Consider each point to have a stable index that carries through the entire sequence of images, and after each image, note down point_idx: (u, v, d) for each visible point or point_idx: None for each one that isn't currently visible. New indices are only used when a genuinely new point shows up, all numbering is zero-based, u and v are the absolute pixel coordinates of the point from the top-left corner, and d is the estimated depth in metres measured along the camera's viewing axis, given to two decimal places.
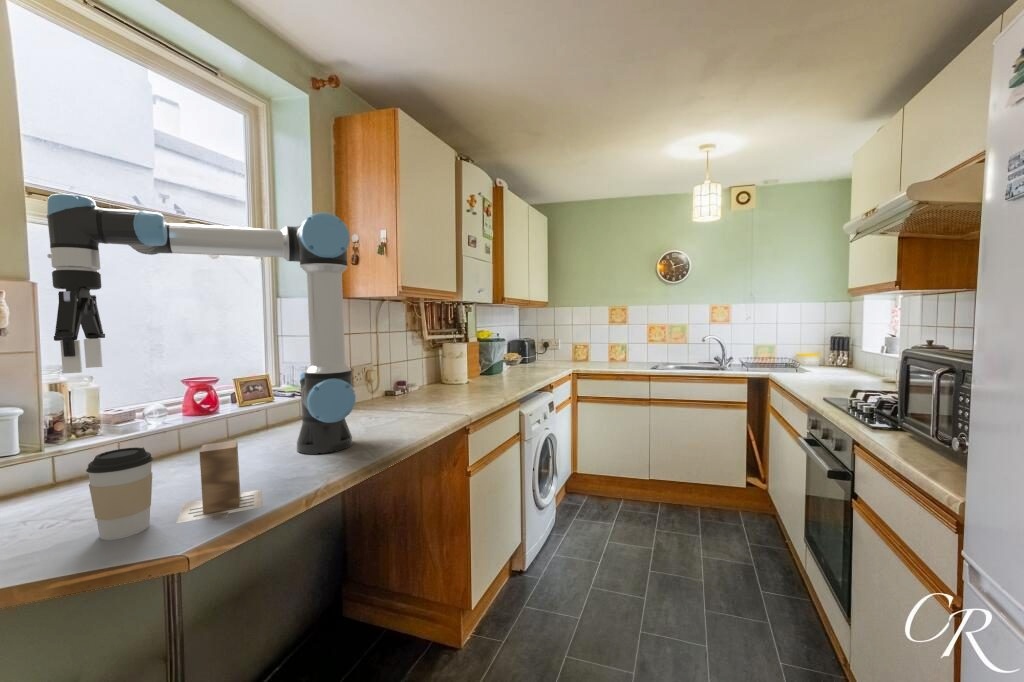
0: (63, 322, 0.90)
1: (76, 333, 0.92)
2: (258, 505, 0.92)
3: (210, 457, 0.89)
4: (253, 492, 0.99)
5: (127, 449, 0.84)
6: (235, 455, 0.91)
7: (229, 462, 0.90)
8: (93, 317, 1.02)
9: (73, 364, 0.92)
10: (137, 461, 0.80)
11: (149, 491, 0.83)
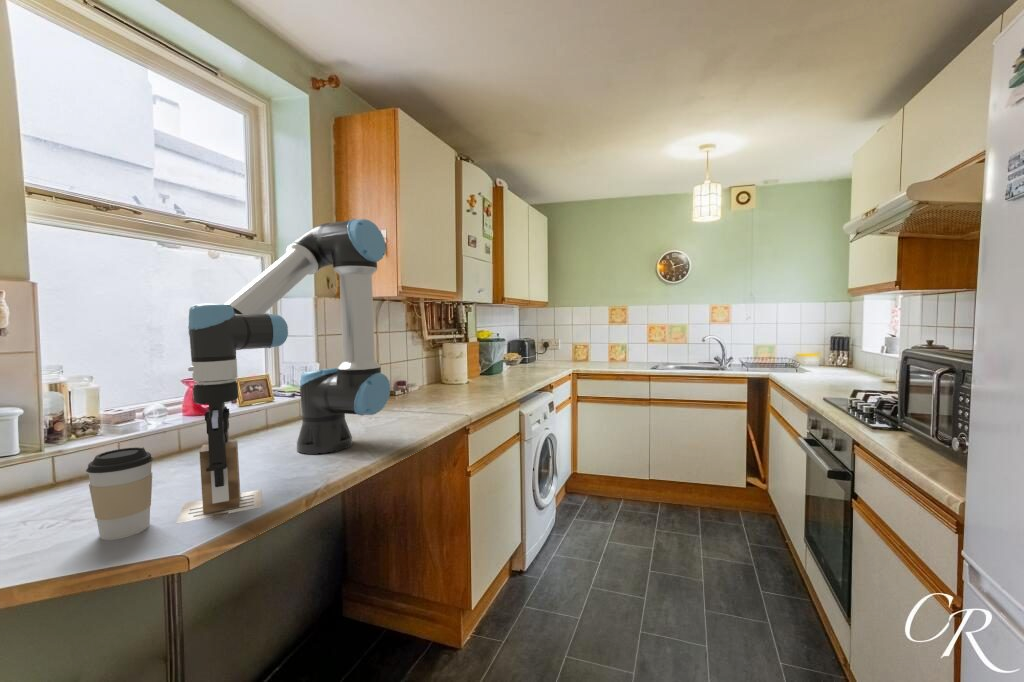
0: (215, 454, 0.86)
1: (225, 461, 0.89)
2: (258, 505, 0.92)
3: None
4: (253, 492, 0.99)
5: (127, 449, 0.84)
6: (235, 455, 0.91)
7: (229, 462, 0.90)
8: None
9: (222, 493, 0.89)
10: (137, 461, 0.80)
11: (149, 491, 0.83)
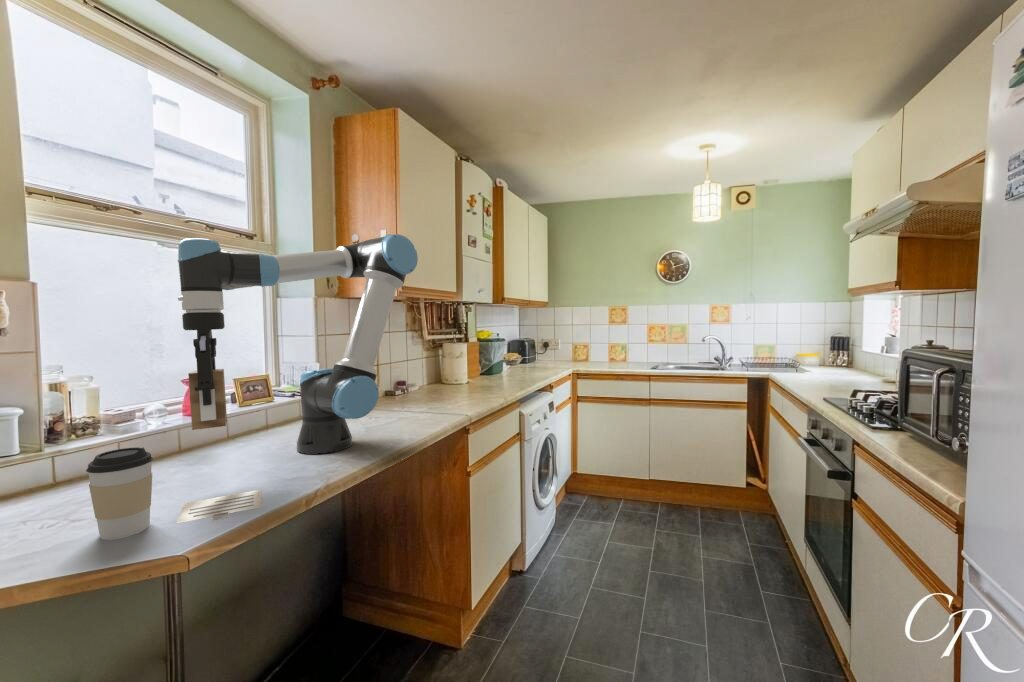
0: (203, 374, 0.94)
1: (212, 382, 0.97)
2: (258, 505, 0.92)
3: None
4: (253, 492, 0.99)
5: (127, 449, 0.84)
6: (221, 378, 0.99)
7: (216, 384, 0.99)
8: (213, 359, 1.03)
9: (210, 412, 0.97)
10: (137, 461, 0.80)
11: (149, 491, 0.83)
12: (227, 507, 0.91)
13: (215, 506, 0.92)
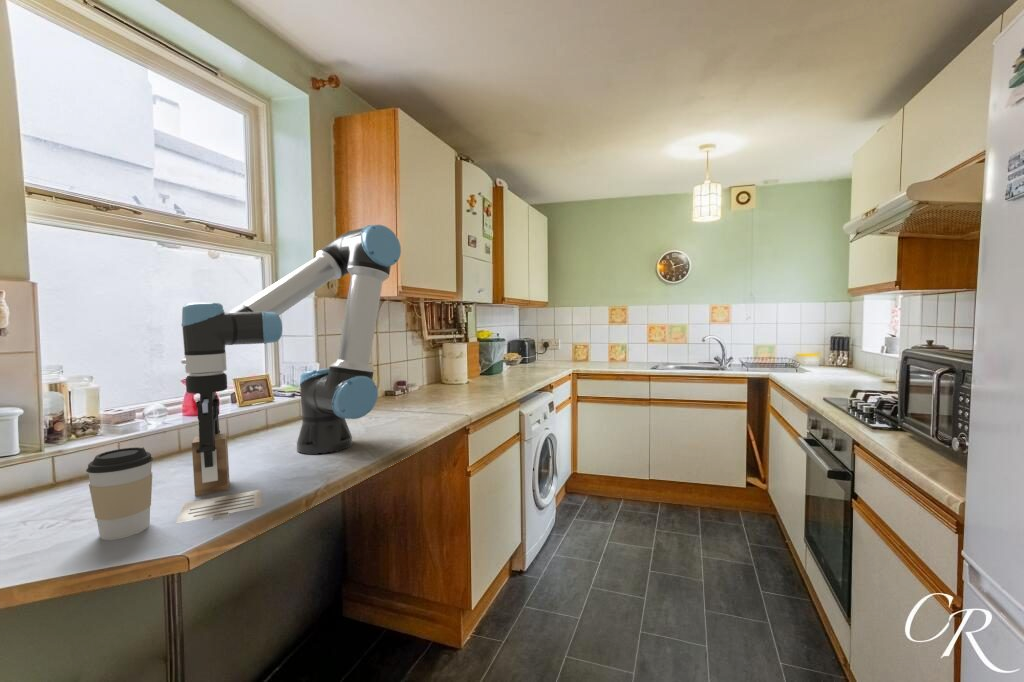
0: (205, 436, 0.94)
1: (214, 444, 0.97)
2: (258, 505, 0.92)
3: None
4: (253, 492, 0.99)
5: (127, 449, 0.84)
6: (224, 446, 1.00)
7: (219, 452, 0.99)
8: None
9: (211, 473, 0.97)
10: (137, 461, 0.80)
11: (149, 491, 0.83)
12: (227, 507, 0.91)
13: (215, 506, 0.92)
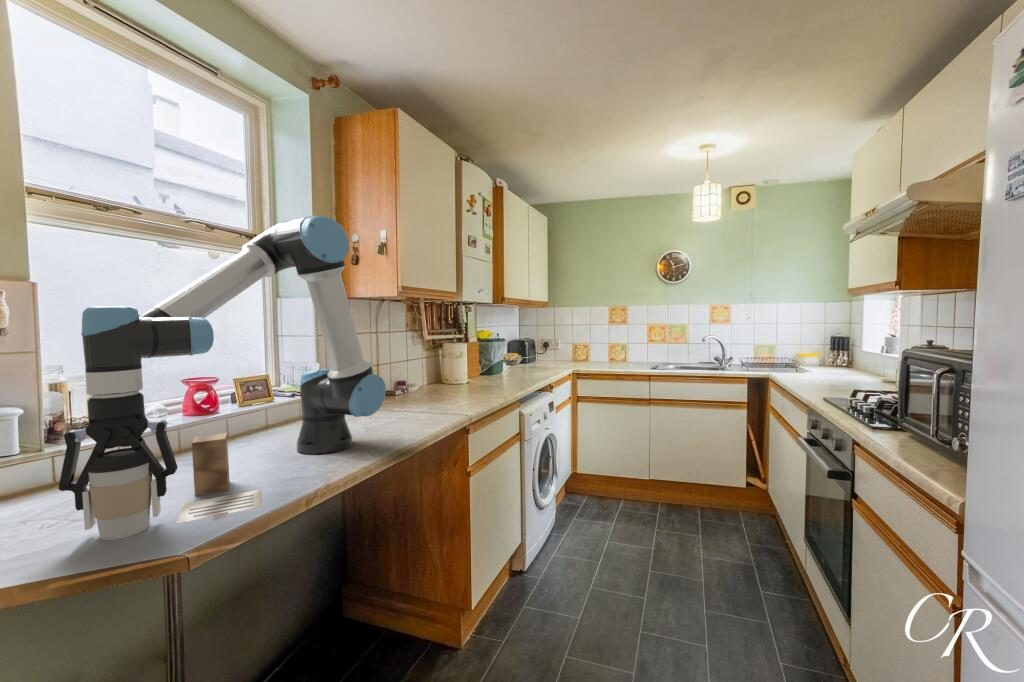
0: None
1: (78, 484, 0.78)
2: (258, 505, 0.92)
3: (201, 447, 0.98)
4: (253, 492, 0.99)
5: (127, 449, 0.84)
6: (224, 446, 1.00)
7: (219, 452, 0.99)
8: None
9: None
10: (137, 461, 0.80)
11: (149, 491, 0.83)
12: (227, 507, 0.91)
13: (215, 506, 0.92)
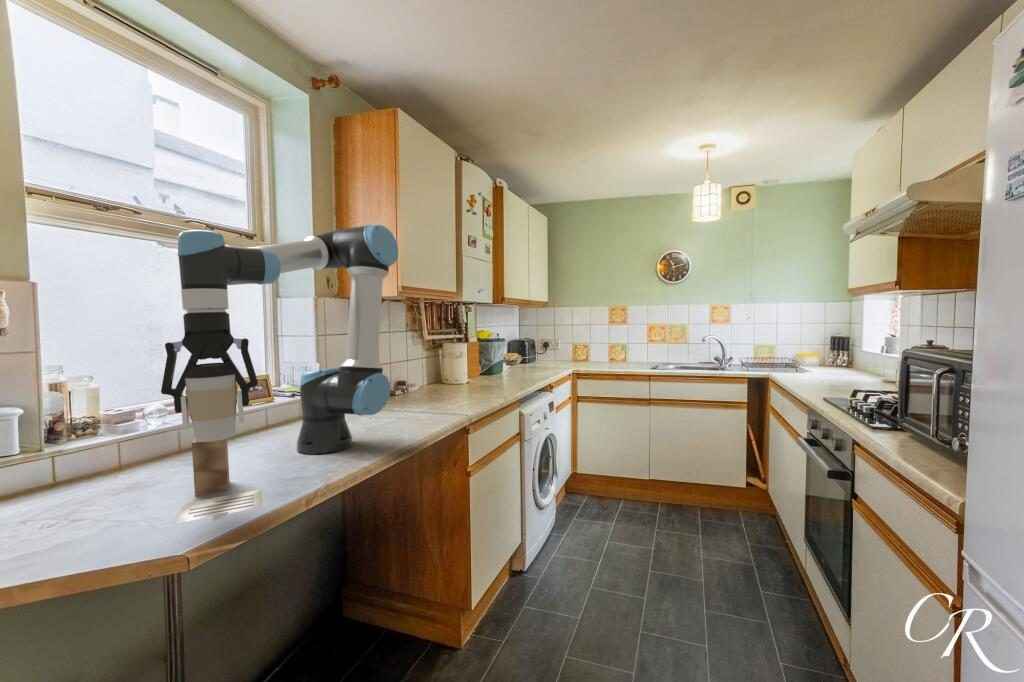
0: None
1: (177, 389, 0.87)
2: (258, 505, 0.92)
3: (201, 447, 0.98)
4: (253, 492, 0.99)
5: (214, 363, 0.93)
6: (224, 446, 1.00)
7: (219, 452, 0.99)
8: None
9: (183, 420, 0.89)
10: (227, 371, 0.89)
11: (235, 400, 0.92)
12: (227, 507, 0.91)
13: (215, 506, 0.92)
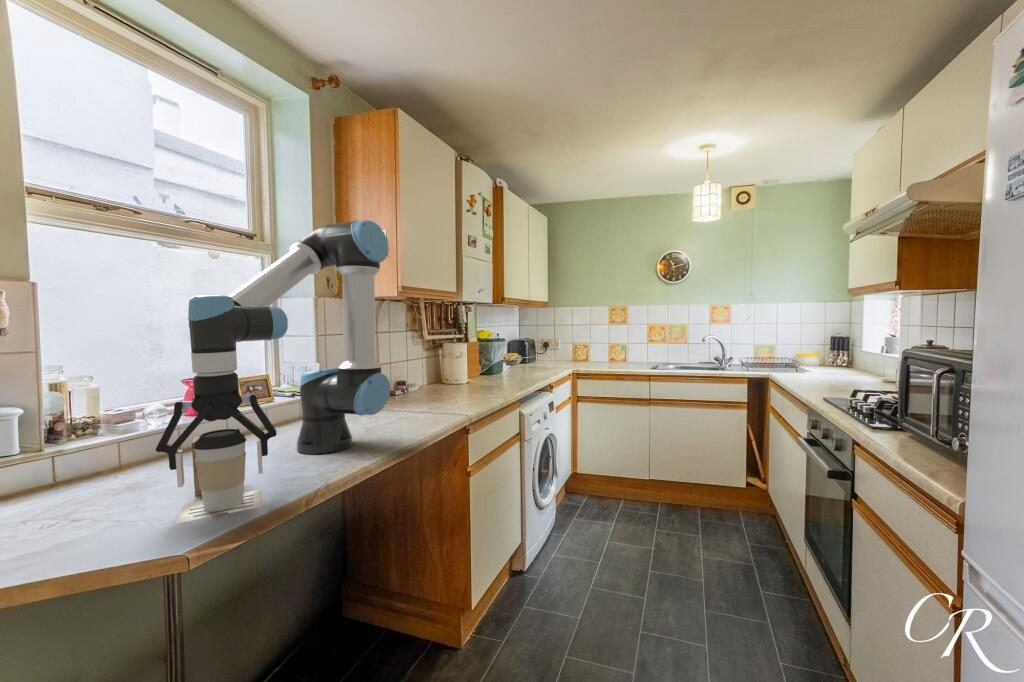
0: None
1: (173, 446, 0.87)
2: (258, 505, 0.92)
3: None
4: (253, 492, 0.99)
5: (223, 430, 0.94)
6: None
7: None
8: (241, 421, 0.93)
9: None
10: (236, 440, 0.90)
11: (244, 467, 0.93)
12: None
13: None
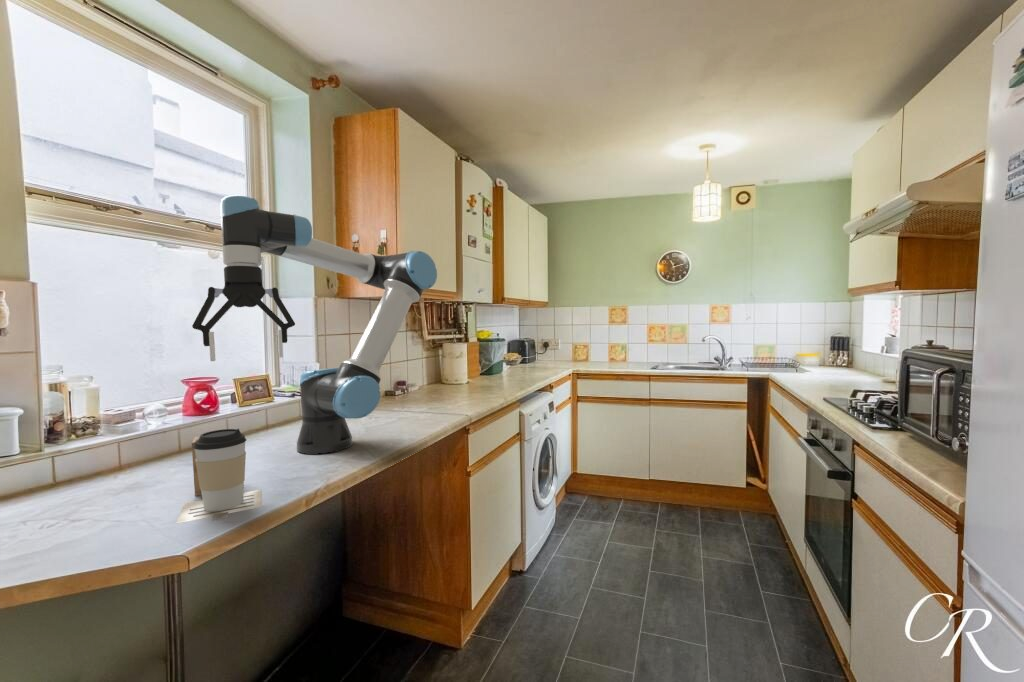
0: None
1: (207, 325, 1.01)
2: (258, 505, 0.92)
3: None
4: (253, 492, 0.99)
5: (223, 430, 0.94)
6: None
7: None
8: (265, 309, 1.06)
9: (210, 353, 1.02)
10: (236, 440, 0.90)
11: (244, 467, 0.93)
12: None
13: None
